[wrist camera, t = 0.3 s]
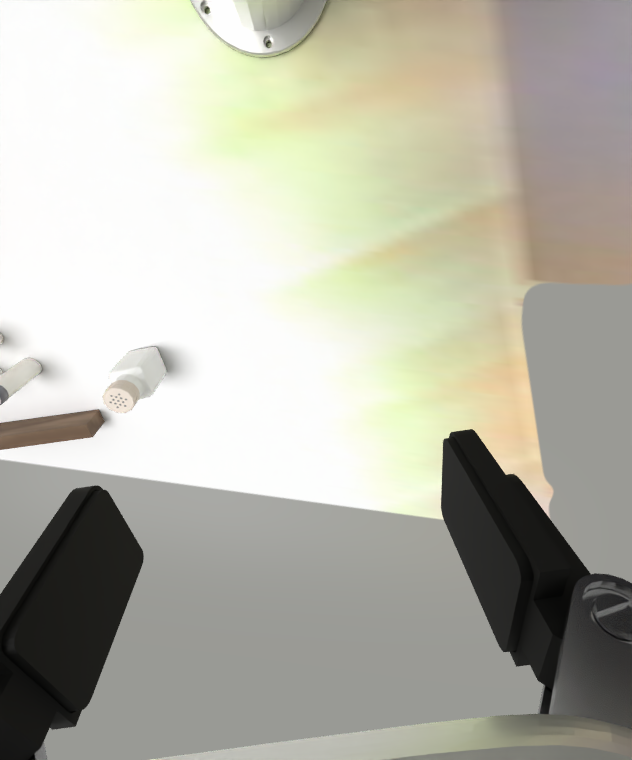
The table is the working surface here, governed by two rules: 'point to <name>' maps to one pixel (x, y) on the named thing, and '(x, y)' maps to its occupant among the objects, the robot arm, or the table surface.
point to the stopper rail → (50, 429)
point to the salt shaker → (134, 379)
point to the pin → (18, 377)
